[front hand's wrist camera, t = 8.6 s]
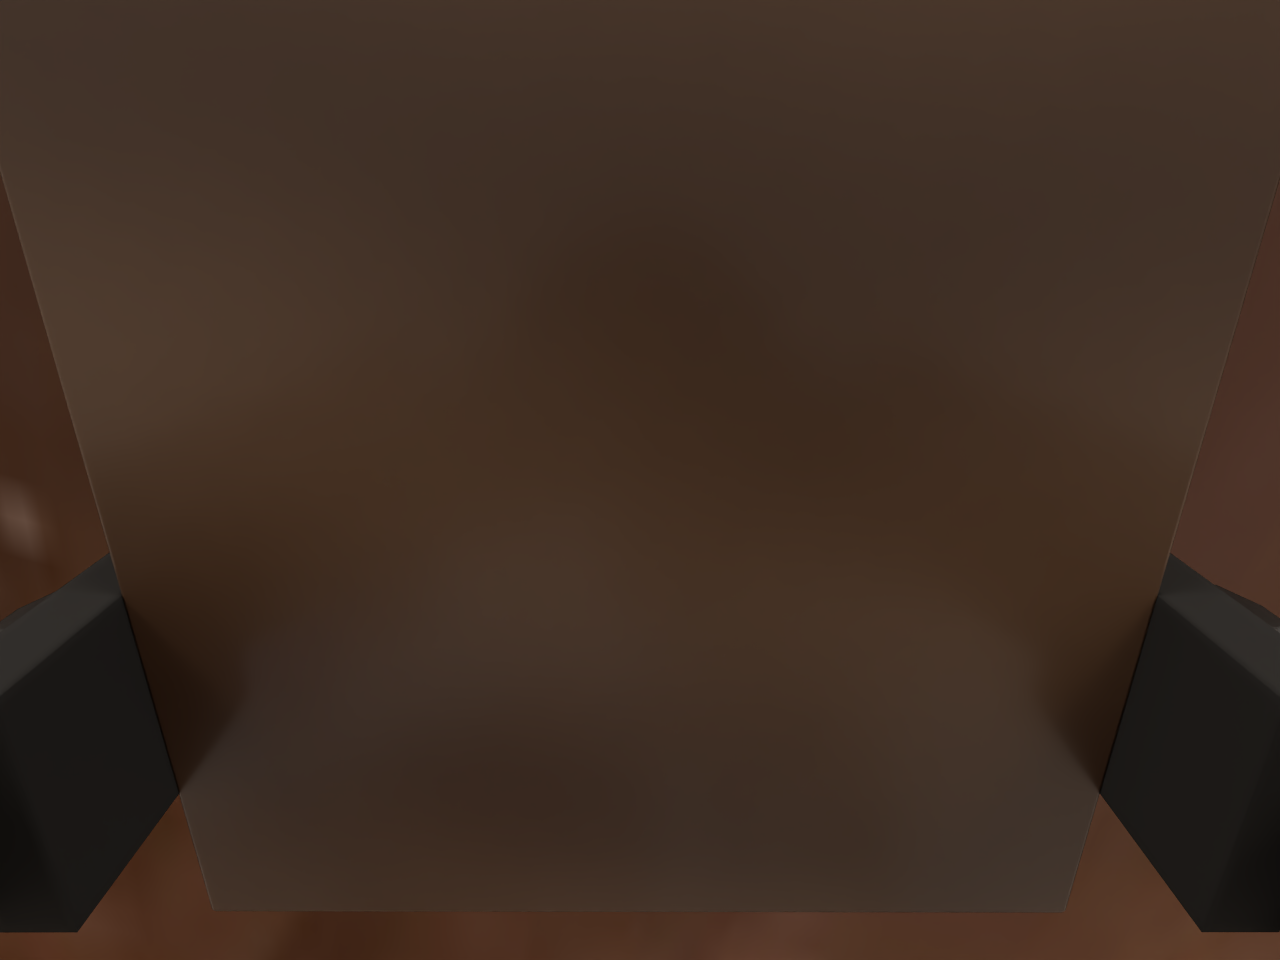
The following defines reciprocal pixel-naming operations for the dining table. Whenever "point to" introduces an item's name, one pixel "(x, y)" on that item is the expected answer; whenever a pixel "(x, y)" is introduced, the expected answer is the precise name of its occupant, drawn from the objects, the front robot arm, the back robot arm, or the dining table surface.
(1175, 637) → the front robot arm
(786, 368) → the taupe rectangular block
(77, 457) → the dining table surface
